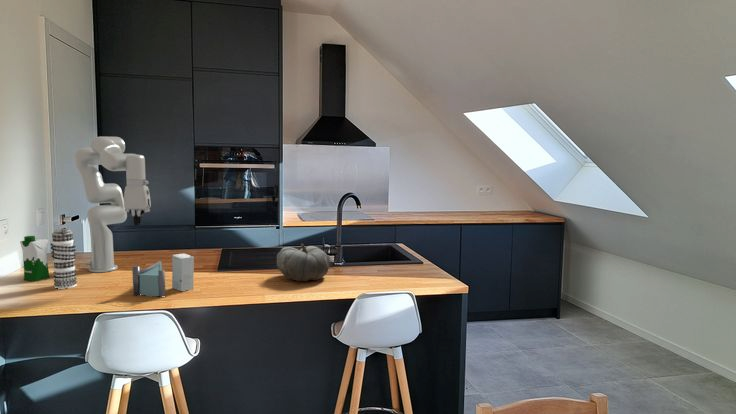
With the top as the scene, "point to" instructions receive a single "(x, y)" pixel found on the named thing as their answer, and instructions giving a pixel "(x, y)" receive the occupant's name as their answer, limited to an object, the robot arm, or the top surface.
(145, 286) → the fence panel
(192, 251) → the top surface
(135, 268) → the hinge post
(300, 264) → the gourd
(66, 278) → the black and white bottle
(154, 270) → the gate
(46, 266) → the milk carton
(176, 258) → the skincare box
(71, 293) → the top surface
